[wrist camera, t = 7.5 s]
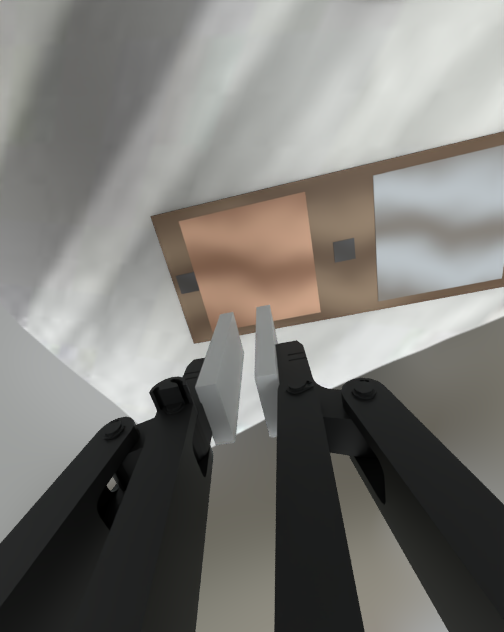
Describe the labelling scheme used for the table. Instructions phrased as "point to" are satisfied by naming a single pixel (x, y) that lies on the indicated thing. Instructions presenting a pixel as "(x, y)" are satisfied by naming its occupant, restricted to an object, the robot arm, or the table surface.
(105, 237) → the table surface
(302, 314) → the board
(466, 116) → the table surface
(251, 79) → the table surface
